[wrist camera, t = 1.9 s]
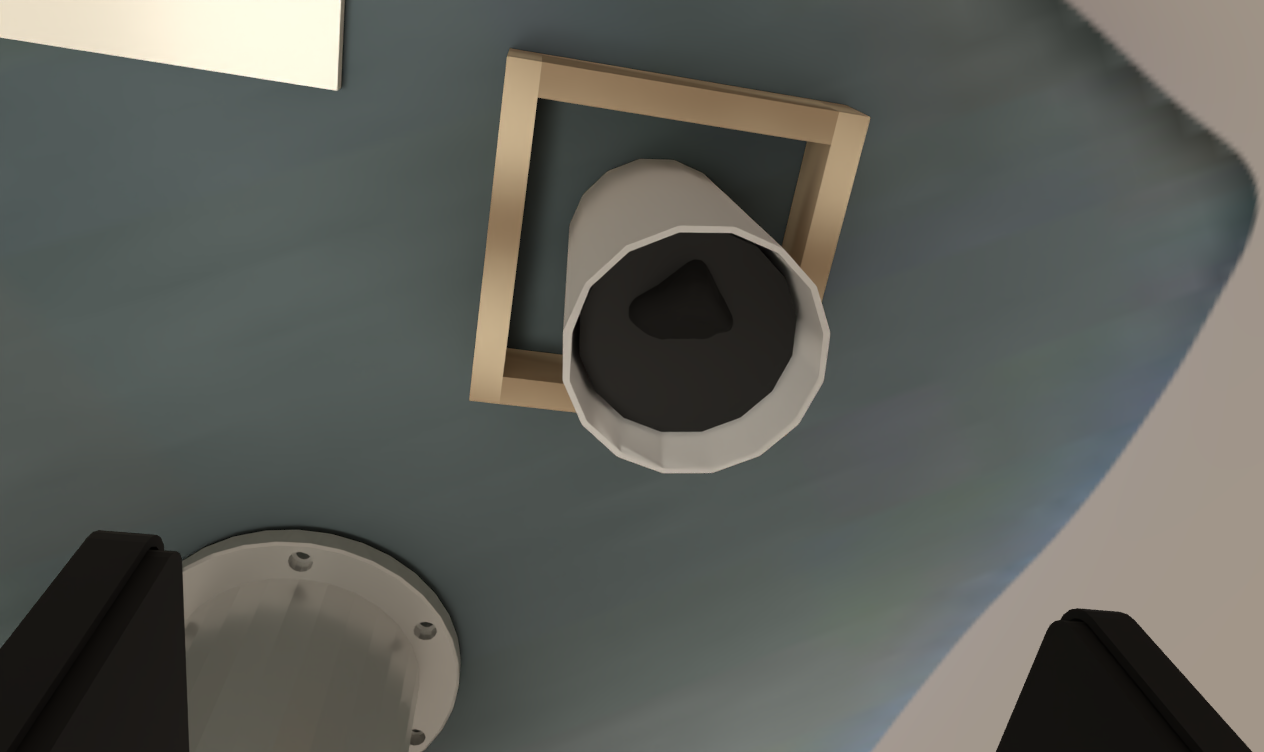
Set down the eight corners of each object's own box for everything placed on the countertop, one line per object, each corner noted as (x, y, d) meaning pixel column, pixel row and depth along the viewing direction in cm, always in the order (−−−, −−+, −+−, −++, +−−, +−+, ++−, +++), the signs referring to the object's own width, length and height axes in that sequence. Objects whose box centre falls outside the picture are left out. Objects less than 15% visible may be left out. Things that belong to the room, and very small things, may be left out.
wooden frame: (770, 404, 35) (786, 436, 32) (474, 370, 33) (469, 400, 31) (845, 105, 30) (870, 117, 28) (509, 48, 29) (506, 56, 27)
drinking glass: (515, 213, 31) (505, 319, 22) (687, 104, 30) (751, 168, 21) (620, 366, 34) (649, 518, 24) (781, 270, 33) (874, 390, 24)
